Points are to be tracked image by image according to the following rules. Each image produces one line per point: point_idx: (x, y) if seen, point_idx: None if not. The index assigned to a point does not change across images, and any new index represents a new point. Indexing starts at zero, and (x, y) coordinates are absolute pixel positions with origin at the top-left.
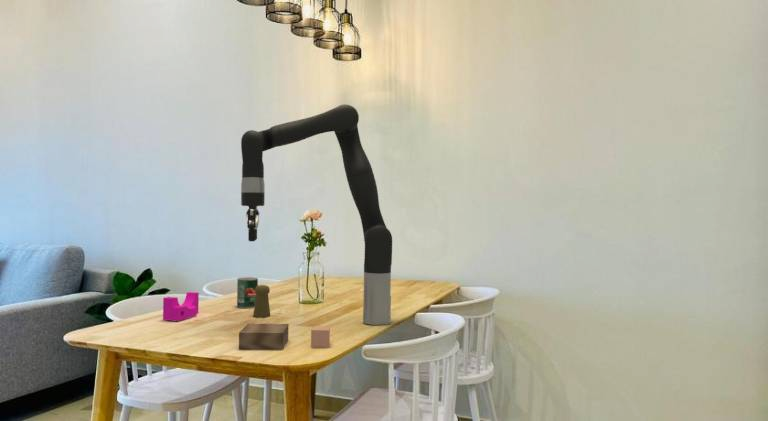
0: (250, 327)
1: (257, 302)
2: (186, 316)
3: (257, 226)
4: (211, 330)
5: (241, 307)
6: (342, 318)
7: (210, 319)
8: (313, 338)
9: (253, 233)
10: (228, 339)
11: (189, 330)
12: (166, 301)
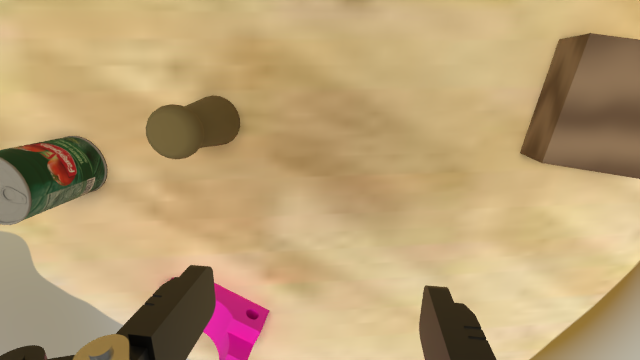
0: (604, 154)
1: (212, 141)
2: (241, 299)
3: (106, 354)
4: (393, 239)
5: (105, 179)
6: None
7: (261, 247)
8: None
9: (492, 357)
10: (507, 197)
11: (384, 283)
12: None
